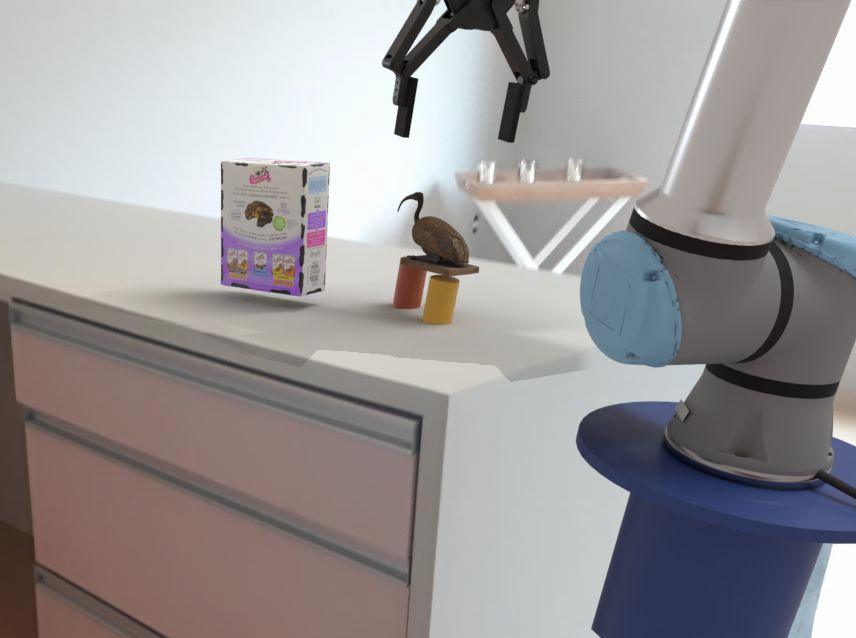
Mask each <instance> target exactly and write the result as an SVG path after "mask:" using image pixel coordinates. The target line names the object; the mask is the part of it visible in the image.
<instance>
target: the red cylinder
mask: <svg viewBox="0 0 856 638" xmlns="http://www.w3.org/2000/svg"><path fill="white" fill-rule="evenodd" d="M403 257H407V255H405V256H401V257H400V259H399V262H400V261H401V258H403ZM427 274H428V271H425V270H421V269H417V268H414V267H410V266H406V265H402V264H400V263H399V265H398V271H397V276H396V282H395V288H394V294H393V300H392V305H391V306H392V307H393V308H395V309H399V310H416V309H420V308H421V306H422V301H423V295H424V290H425V284H426V278H427Z"/></svg>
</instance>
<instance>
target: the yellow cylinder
mask: <svg viewBox="0 0 856 638" xmlns="http://www.w3.org/2000/svg"><path fill="white" fill-rule="evenodd" d="M428 279H429V281H428V285H427V291H426V295H425V302H424V307H423V312H422V318H421V322H423V323H425V324H427V325H429V324H430V325H448V324H452V323H453V318H454V312H455V307H456V303H457V297H458V292H459V286H460V283H461V281H460V279H459V278H457V277H456V276H445V275H441V274H433V275H430V276H429V278H428Z"/></svg>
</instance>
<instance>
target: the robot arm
mask: <svg viewBox="0 0 856 638" xmlns="http://www.w3.org/2000/svg"><path fill="white" fill-rule="evenodd" d="M441 1H442V0H416V3H415V5H414V7H413V8H412V10H411V11H410V13H409V15H408V16H407V19H405V22H404V23H403V25H402V26H401V28H400V30H399V32H398V34H397V35H396V37H395V38H394V40H393V41H392V43H391V45H390V47H389V48H388V50H387V52H386V53H385V55H384V57H383V59H382V60H381V66H382V68H385V69H386V70H388V71H391V72H393V74H394V75H395V80H394V86H393V92H392V99H391V101H392V105H393V106H397V112H396V118H395V125H394V131H393V135H395V136H397V137H400V138H402V139H403V138H404V139H409V138H410V134H411V129H412V128H411V127H412V122H413V116H414V108H415V103H416V98H417V97H416V96H417V90H418V84H419V78H417V77H414V76H413V75H414V74H415V73H416V72H417V70H418V69H419V68H420V67H421V66H422V65H423V64H424V63H425V62H426V61H427V60H428V59H429V58H430V56H432V54H433V53H434V52H435V51H436V50H437V49H438V48H439V47H440V46H441V45H442V44H443V42H444V41H446V40H447V38H448V37H449V36H450V35H451V34H453V33H455V31H457V30H464V31H465V30H466V31H468V30H469V31H472V30H476V31H482V32H490V33H491V34H492V35H493V36H494V38H495V40H496V42H497V45H498V46H499V48H500V51H501V52H502V54H503V56H504V58H505V61H506V62H507V65H508V67H509V68H510V70H511V72H512V75H513V77H514V78H515V80H516V82H515V81H514V82H512V81H508V84H507V88H506V89H507V90H506V94H505V99H504V104H503V110H502V113H501V114H502V115H501V118H500V119H501V120H500V125H499V130H498V134H497V140H499V141H502V142H505V143H511V144H513V143H515V140H516V135H517V131H518V125H519V120H520V115H521V113H522V114H525V112H526V111H527V109H528V105H529V99H530V96H531V95H530V94H531V91H532V86H535V85H537V84H538V82H539V81H541V80H547V79H549V77H550V75H551V70H550V65H549V59H548V55H547V49H546V45H545V41H544V35H543V31H542V25H541V21H540V15H539V8H540V0H443V2H444V5H445V7H446V10H445V11H444V12H443V13H442V14H441V15H440V16H439V17H438V18H437V19H436V21H435V23H434V25H433V26H432V27H431V28H430V29H429V30H428V31H427V32H426V34H425V35H423V37H422V38H421V39H420V40H419V41H418V42H417V44H416V45H414V43H415V42H416V40H417V38H418V37H419V35H420V33H421V31H422V30H423V28H425V27H424V26H425V25H426V23H427V21H429V18H430V17H431V15H432V13H433V12H434V9H435V6H438V5H439V4H440V2H441ZM851 2H852V0H726V2H725V4H724V8H723V9H722V13H721V16H720V18H719V21H718V24H717V28H716V29H715V33H714V36H713V37H712V41H711V43H710V46H709V49H708V52H707V55H706V58H705V60H704V63H703V66H702V68H701V72H700V74H699V77H698V80H697V83H696V86H695V88H694V91H693V93H692V96H691V99H690V102H689V106H688V108H687V111H686V114H685V117H684V119H683V121H682V125H681V128H680V130H679V133H678V135H677V138H676V141H675V143H674V146H673V150H672V153H671V155H670V158H669V161H668V164H667V167H666V169H665V173H664V175H663V178H662V181H661V184H660V185H658V187H656V188H655V189H652V190H651V191H649V192H647V193H646V194H644V195H641V196H640V197H639V198H637V199H636V200H635V203H634V206H633V208H632V211H631V214H630V216H629V220H628V223H627V226H626V228H625V230H619V231H613V232H612V233H610V234H607V235H605V236H603V237H602V238H600V241H598V242H596V243H595V244H594V245H593V246H592V248H591V249H590V251H589V252H588V254H587V256H586V258H585V261H584V264H583V267H582V271H581V276H580V282H579V283H580V284H579V304H580V311H581V315H582V317H583V320H584V325H585V328H586V330H587V333H588V335H589V337H590V339H591V340H592V342H593V344H594V345H595V346H596V348H597V349H598V350H599V351H600V352H601V353H602V354H603V355H604V356H606V358H608V359H611V360H612V361H614V362H616V363H619V364H622V365H628V366H629V365H630V366H646V367H650V368H653V369H654V368H664V367H667V366H687V365H688V366H693V365H704V368H703V371H702V373H701V375H700V377H699V378H698V379H697V382H696V383H695V384H694V385H693V387H692V389H691V390H690V392H689V393H688V395H687V396H686V398H685V399H684V401H683V400H682V398H681V399H680V400H679V401H678V402H679V403H678V404H677V406H676V407H675V410H676V412H677V413H675V414H674V415H673V417H672V418H671V419H670V421H669V423H668V425H667V426H666V430H665V433H664V437H663V440H662V444H663V446H664V448H665V450H666V451H667V452H668V453H669V454H670V455H671V456H673V457H674V458H675V459H677V460H678V461H680V462H682V463H683V464H685V465H687V466H689V467H691V468H693V469H695V470H698V471H700V472H702V473H705V474H708V475H710V476H713V477H716V478H719V479H723V480H726V481H730V482H733V483H737V484H742V485H746V486H751V487H757V488H764V489H772V490H784V491H798V490H808V489H813V488H817V487H820V486H822V485H823V484H825V483H827V484H829V485H830V486H832V487H834V488H836V489H838V490H840V491H841V492H843V493H845V494H847V495H849V496H851V497H852V498H854V499H856V488H854V487H853V486H851V485H849V484H847V483H845V482H843V481H841V480H840V479H838V478H836V477H834V476H832V475H830V472H831V469H832V466H833V459H834V452H833V449H832V447H831V444H832V437H834V436H833V433H834V401H835V397H836V395H837V391H838V390H839V386H840V383H841V381H842V378H843V376H844V373H845V370H846V367H847V366H848V365H847V364H848V363H849V359H850V356H851V355H852V351H853V349H854V346H855V343H856V235H853V234H850V233H846V232H842V231H838V230H836V229H835V230H834V229H831V228H828V227H823V226H820V225H816V224H812V223H808V222H803V221H800V220H796V219H795V220H794V219H790V218H785V217H782V216H781V217H780V216H776V215H770V214H767V212H766V211H767V210H766V208H767V206H768V203H769V201H770V198H771V196H772V194H773V191H774V189H775V186H776V184H777V182H778V179H779V176H780V174H781V172H782V169H783V167H784V164H785V162H786V160H787V158H788V155H789V153H790V150H791V148H792V145H793V143H794V140H795V138H796V135H797V133H798V131H799V129H800V126H801V123H802V121H803V119H804V116H805V114H806V111H807V109H808V107H809V104H810V102H811V99H812V97H813V95H814V92H815V90H816V87H817V85H818V82H819V80H820V77H821V75H822V73H823V70H824V68H825V66H826V63H827V61H828V58H829V56H830V54H831V50H832V48H833V47H834V43H835V41H836V39H837V37H838V33H839V32H840V29H841V27H842V24H843V22H844V19H845V17H846V15H847V12H848V10H849V7H850V5H851ZM513 6H514V8H515V11H516V12H517V13H518V14H517V17H518V21H519V26H520V31H521V35H522V40H523V45H524V49H525V53H524V50H523V49H522V46H521V44H520V42H519V40H518V38H517V36H516V35H515V32H514V27H513V24H512V22H511V20H510V18H509V16H508V14H507V13H508V12H509V11H510V10H512V8H513ZM413 45H414V46H413ZM412 47H413V48H412ZM411 48H412V49H411Z"/></svg>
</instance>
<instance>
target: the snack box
mask: <svg viewBox="0 0 856 638" xmlns="http://www.w3.org/2000/svg"><path fill="white" fill-rule="evenodd" d="M330 169H331V163H330V162H323V161H307V160H293V159H292V160H291V159H278V158H277V159H276V158H253V157H243V158H235V159H228V160H227V159H226V160H221V161H220V285H221V286H224V287H231V288H239V289H245V290H253V291H260V292H267V293H273V294H280V295H286V296H292V297H305V296H310V295H313V294H317V293H322V292H324V291H325V290H326V274H327V273H326V271H327V270H326V269H327V250H328V249H327V247H328V246H327V244H328V243H327V242H328V224H329V222H328V221H329V198H330V197H329V196H330V173H331V170H330Z"/></svg>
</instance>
